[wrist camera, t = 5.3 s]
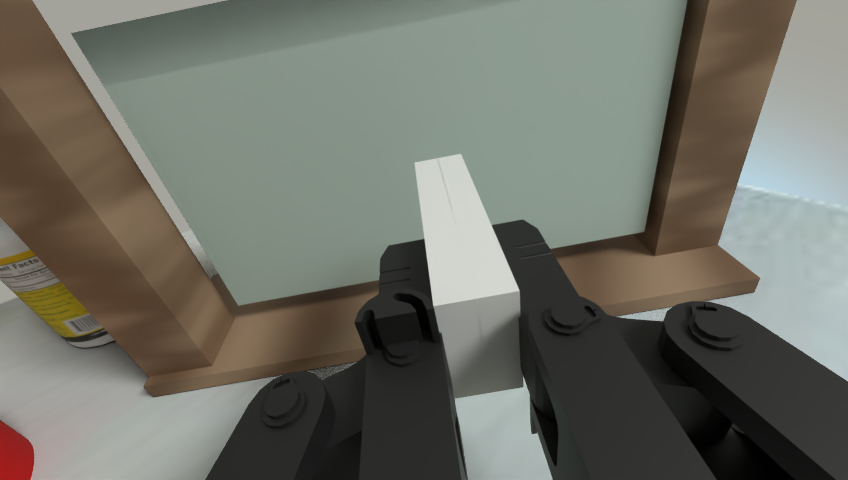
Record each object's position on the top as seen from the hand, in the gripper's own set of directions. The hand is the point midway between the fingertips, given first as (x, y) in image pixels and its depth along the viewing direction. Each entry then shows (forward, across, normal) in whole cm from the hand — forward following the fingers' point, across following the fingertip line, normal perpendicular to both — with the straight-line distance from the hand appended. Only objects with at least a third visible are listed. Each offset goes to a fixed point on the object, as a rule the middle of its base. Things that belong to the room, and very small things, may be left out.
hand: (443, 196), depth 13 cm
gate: (+4, -1, -5) cm, 7 cm away
